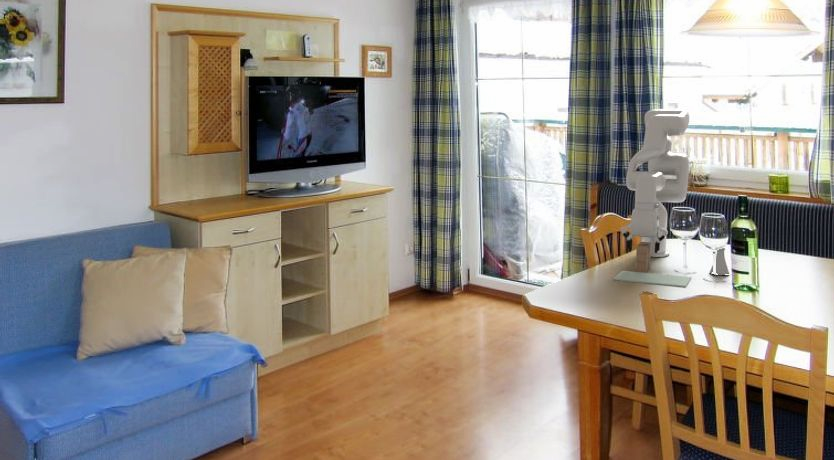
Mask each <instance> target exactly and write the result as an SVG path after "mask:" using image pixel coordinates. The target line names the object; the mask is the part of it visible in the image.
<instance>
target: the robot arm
mask: <svg viewBox="0 0 834 460" xmlns="http://www.w3.org/2000/svg"><path fill="white" fill-rule="evenodd" d="M689 123H690V114H689V112H688V110H687V109H684V108H683V109H682V108H680V109H679V108H675V109H674V108H673V109H672V108H670V109H669V108H656V109H651V110H648V111H646V113H644V125H645V132H644V137H643V143H642V144H643V146H642V148H641V149H640V150H639V151H637V152H636V153H635V154H634V155H633V157H632V158H631V159H630V161H629V163H628V167H627V170H626V172H627V173H626V177H625V179H626V180H625V184H626V187H627V188H628V190H630V191H635V192H634V193H635V195H634V209H632V212H631V216H630V223H629V224H627V225H625V226H622V227H620V231H621V233H622V236H623V237H624V238H625V239H626V241H627V243H626V244H627V245H626V246H627V247H626V248H627V249H628V251H629V252H630V251H632V250H633V239H632V238H633V237H641V239H642V240H641V242H650V243H651V257H652V258H663V257H668V256H669V255H671V254H670V251H669V250H667V235H668V234H669V231H668V230H667V228H668V211H667V208H666V207H665V206H664V205H663V203H677V204H678V203H683V202H684V201H685V200H686V199H687V194H688V184H689V183H688V182H689V172H690V161H689V157H688V156H687V155H686V154H684V153H680V152H679V153H678V152H677V153H675V152H674V153H673V152H672V144H673V143H672V140H671V138H670V137H681V136H683V135H684V134H685V133H686V130H687V128H688V127H689ZM645 163H647V164H648V165H647V169H648V171H646V170H645V171H642V170H641V171H639V170H637V169H638V167H639V166H641V165H642V164H645ZM666 177H670V178H666ZM671 177H672V178H671ZM673 177H674V178H673ZM628 229H629V234H628V232H627V231H626V230H628Z"/></svg>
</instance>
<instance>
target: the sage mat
mask: <svg viewBox="0 0 834 460" xmlns="http://www.w3.org/2000/svg"><path fill="white" fill-rule="evenodd" d="M613 280H614V281H618V280H619V281H620V282H628V283H629V282H631V283H639V284H640V283H641V284H649V285H658V286H659V285H660V286H670V287H679V288H681V287H682V288H686V287H687V286H688V284H689V283H690V282H691V280H692V277H691V276H682V275H672V274H671V275H670V274H661V273H651V272H646V273H644V272H636V271H630V270H629V271H628V270H621V271H620V272H619V273H618V274H616V276H615V277H614V278H613Z"/></svg>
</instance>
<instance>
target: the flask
mask: <svg viewBox="0 0 834 460" xmlns="http://www.w3.org/2000/svg"><path fill="white" fill-rule="evenodd" d="M725 250H726V248H725V247H724V248H722V249H719V250H717V249H716V256H715V258H716V273H717V274H718V275H725V274H729V275H730V272H729V269H728V268H729V267H728V265H727V261H726V257H725ZM712 272H713V264H712V266H711V268H710V270H709V273H712Z"/></svg>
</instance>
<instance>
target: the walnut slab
mask: <svg viewBox="0 0 834 460" xmlns="http://www.w3.org/2000/svg"><path fill="white" fill-rule="evenodd" d="M650 269H651V243H650V242H642V241H640V242H639V243H638V244H637V245H636V248H635V272H642V273H648V271H649V270H650Z"/></svg>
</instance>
